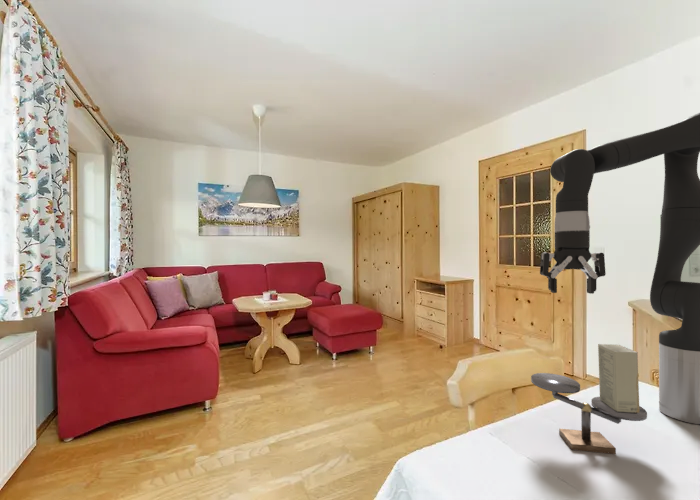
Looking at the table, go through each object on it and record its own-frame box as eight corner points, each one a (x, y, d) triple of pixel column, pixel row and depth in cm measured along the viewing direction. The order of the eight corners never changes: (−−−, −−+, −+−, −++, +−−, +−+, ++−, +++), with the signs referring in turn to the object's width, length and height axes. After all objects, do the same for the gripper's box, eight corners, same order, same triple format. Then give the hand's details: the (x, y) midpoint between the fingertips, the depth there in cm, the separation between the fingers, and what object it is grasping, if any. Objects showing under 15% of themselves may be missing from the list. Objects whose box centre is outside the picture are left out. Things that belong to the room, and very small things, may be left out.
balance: (629, 437, 73) (629, 378, 73) (658, 463, 64) (658, 396, 64) (525, 427, 77) (525, 371, 77) (539, 450, 68) (539, 387, 68)
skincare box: (640, 414, 66) (640, 352, 66) (615, 412, 67) (615, 351, 67) (620, 399, 72) (620, 344, 72) (597, 398, 73) (597, 343, 73)
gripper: (594, 230, 88) (595, 291, 88) (536, 231, 90) (536, 290, 90) (611, 228, 80) (611, 295, 80) (547, 229, 83) (547, 294, 83)
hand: (571, 292), depth 85 cm, fingers open, 8 cm apart
